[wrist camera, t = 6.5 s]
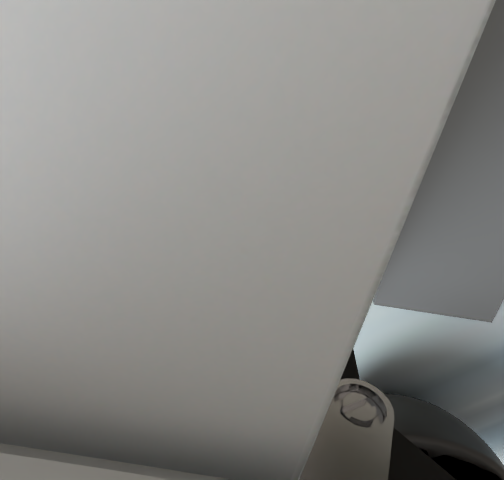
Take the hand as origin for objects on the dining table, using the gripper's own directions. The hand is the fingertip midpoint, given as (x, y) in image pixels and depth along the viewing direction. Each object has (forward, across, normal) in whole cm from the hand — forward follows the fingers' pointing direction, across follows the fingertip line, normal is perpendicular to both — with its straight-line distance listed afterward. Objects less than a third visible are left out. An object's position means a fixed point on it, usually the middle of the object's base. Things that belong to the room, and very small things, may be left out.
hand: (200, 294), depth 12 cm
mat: (+22, -18, +1) cm, 29 cm away
